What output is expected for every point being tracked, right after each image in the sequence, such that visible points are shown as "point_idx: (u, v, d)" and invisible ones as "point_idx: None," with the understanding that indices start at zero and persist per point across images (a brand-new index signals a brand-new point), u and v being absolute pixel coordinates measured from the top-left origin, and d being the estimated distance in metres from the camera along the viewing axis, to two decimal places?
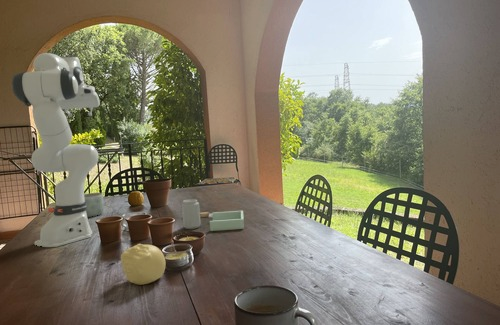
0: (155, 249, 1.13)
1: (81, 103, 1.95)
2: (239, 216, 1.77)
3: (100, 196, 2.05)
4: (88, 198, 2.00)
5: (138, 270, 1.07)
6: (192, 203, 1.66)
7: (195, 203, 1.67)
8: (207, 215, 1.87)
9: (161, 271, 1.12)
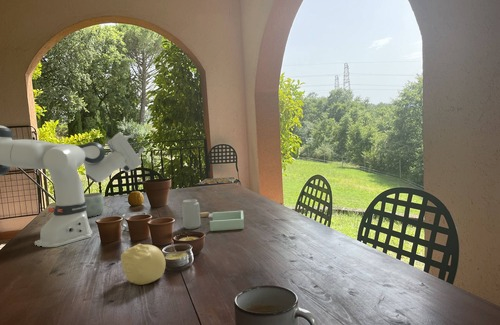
0: (155, 249, 1.13)
1: None
2: (239, 216, 1.77)
3: (100, 196, 2.05)
4: (88, 198, 2.00)
5: (138, 270, 1.07)
6: (192, 203, 1.66)
7: (195, 203, 1.67)
8: (207, 215, 1.87)
9: (161, 271, 1.12)
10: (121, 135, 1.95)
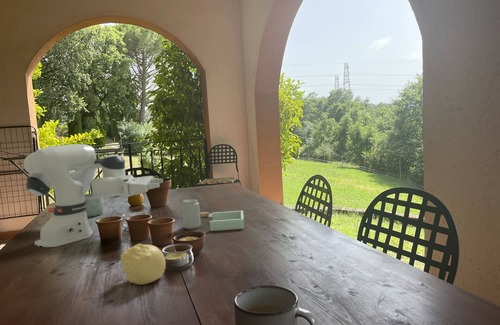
0: (155, 249, 1.13)
1: None
2: (239, 216, 1.77)
3: None
4: (88, 198, 2.00)
5: (138, 270, 1.07)
6: (192, 203, 1.66)
7: (195, 203, 1.67)
8: (207, 215, 1.88)
9: (161, 271, 1.12)
10: (151, 176, 1.78)
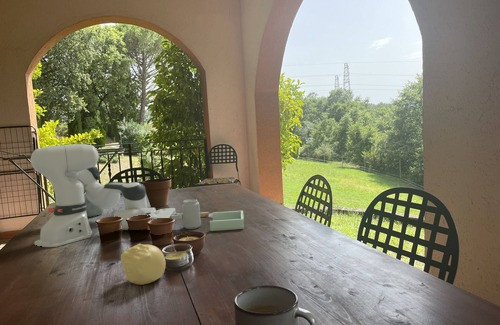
0: (155, 249, 1.13)
1: None
2: (239, 216, 1.77)
3: None
4: None
5: (138, 270, 1.07)
6: (192, 203, 1.66)
7: (195, 203, 1.67)
8: (207, 215, 1.88)
9: (161, 271, 1.12)
10: (173, 208, 1.79)
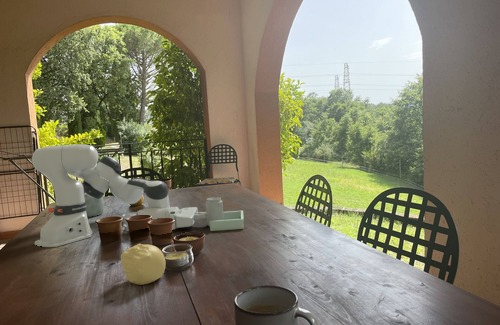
0: (155, 249, 1.13)
1: None
2: (239, 216, 1.77)
3: None
4: (88, 198, 2.00)
5: (138, 270, 1.07)
6: (217, 201, 1.67)
7: (219, 201, 1.68)
8: None
9: (161, 271, 1.12)
10: (195, 207, 1.79)
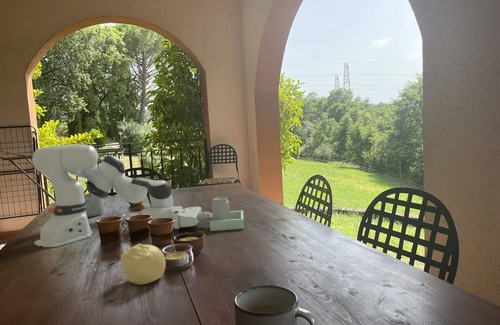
0: (155, 249, 1.13)
1: None
2: (239, 216, 1.77)
3: None
4: (88, 198, 2.00)
5: (138, 270, 1.07)
6: (223, 201, 1.67)
7: (226, 201, 1.68)
8: None
9: (161, 271, 1.12)
10: None
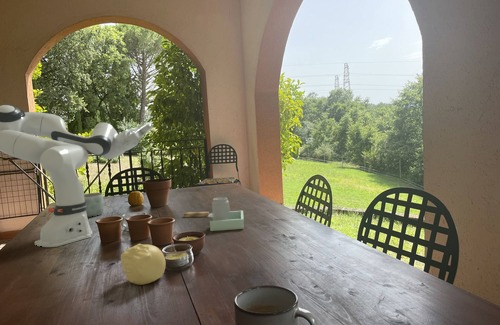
0: (155, 249, 1.13)
1: (139, 128, 1.88)
2: (239, 216, 1.77)
3: (100, 196, 2.05)
4: (88, 198, 2.00)
5: (138, 270, 1.07)
6: (223, 201, 1.67)
7: (226, 201, 1.68)
8: (206, 215, 1.88)
9: (161, 271, 1.12)
10: (137, 139, 1.78)
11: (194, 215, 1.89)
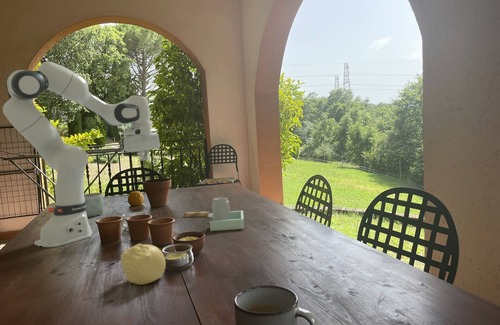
0: (155, 249, 1.13)
1: None
2: (239, 216, 1.77)
3: (100, 196, 2.05)
4: (88, 198, 2.00)
5: (138, 270, 1.07)
6: (223, 201, 1.67)
7: (226, 201, 1.68)
8: (206, 215, 1.88)
9: (161, 271, 1.12)
10: (159, 146, 1.91)
11: (194, 215, 1.89)
